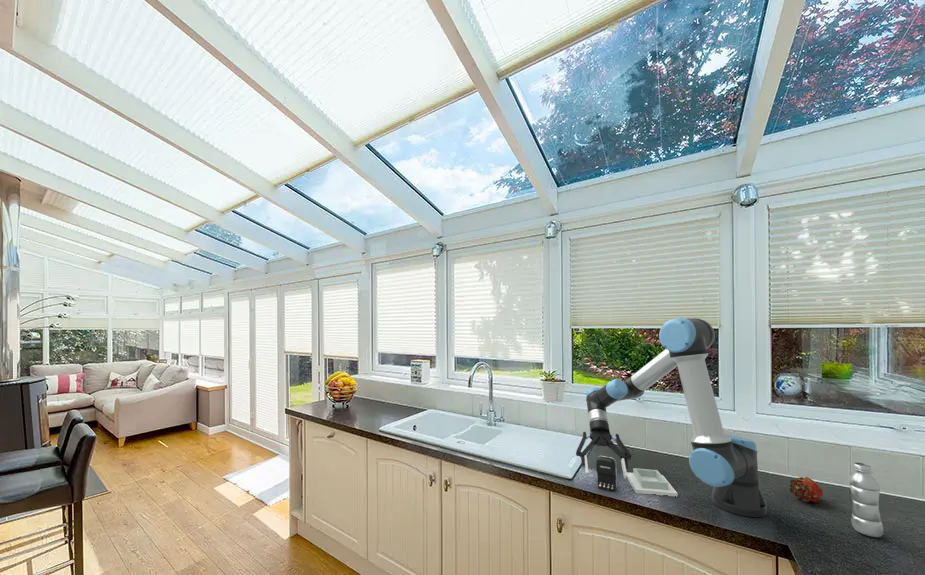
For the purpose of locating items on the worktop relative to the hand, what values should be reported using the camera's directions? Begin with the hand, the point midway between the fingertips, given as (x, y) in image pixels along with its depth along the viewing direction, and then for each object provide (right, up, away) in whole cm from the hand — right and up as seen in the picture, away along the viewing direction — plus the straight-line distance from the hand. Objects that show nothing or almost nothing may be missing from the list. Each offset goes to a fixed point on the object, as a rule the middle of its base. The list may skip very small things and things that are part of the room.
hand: (606, 475), depth 138 cm
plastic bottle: (+67, -3, -28) cm, 73 cm away
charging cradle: (+18, -6, +4) cm, 20 cm away
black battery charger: (0, -6, +1) cm, 6 cm away
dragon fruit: (+68, -5, -7) cm, 69 cm away
